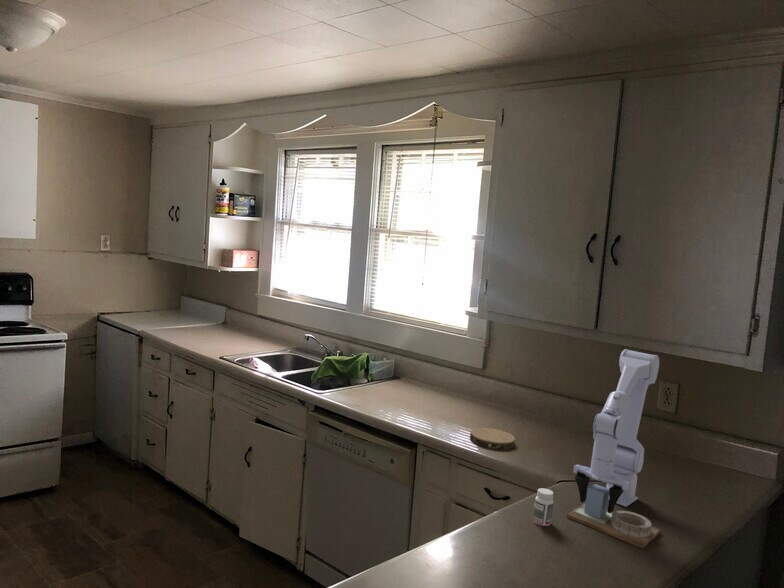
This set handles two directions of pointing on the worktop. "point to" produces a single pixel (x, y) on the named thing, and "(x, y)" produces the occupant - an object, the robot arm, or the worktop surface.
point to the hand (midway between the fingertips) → (596, 506)
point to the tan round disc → (492, 438)
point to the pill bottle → (543, 507)
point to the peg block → (596, 501)
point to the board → (611, 530)
